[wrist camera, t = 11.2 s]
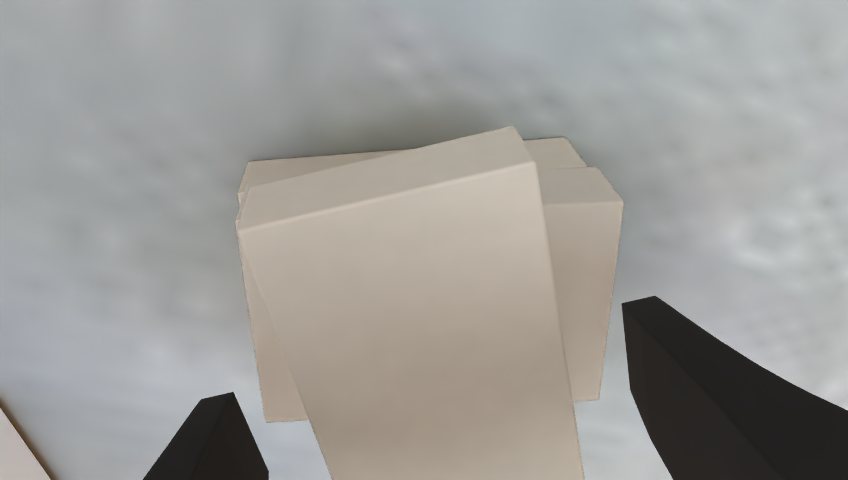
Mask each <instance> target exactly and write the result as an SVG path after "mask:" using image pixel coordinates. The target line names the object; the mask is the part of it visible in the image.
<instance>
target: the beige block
mask: <svg viewBox="0 0 848 480" xmlns="http://www.w3.org/2000/svg"><path fill="white" fill-rule="evenodd" d="M523 141H524V143H525V144H526V146H527V148H528V150H529V151H530V153H531V155H532V156H533V158H534V160H535V162H536V163H537V170H538V176H539V183H540V190H541V196H542V203H543V209H544V216H545V222H546V229H547V235H548V242H549V249H550V255H551V262H552V268H553V275H554V281H555V288H556V294H557V301H558V308H559V314H560V321H561V327H562V334H563V340H564V347H565V354H566V360H567V367H568V373H569V380H570V386H571V393H572V399H573V402H577V401H592V400H598V399H599V395H600V387H601V379H602V371H603V364H604V356H605V348H606V340H607V332H608V324H609V317H610V309H611V301H612V293H613V285H614V278H615V270H616V262H617V254H618V246H619V238H620V231H621V223H622V215H623V207H624V201H623V200H622V198H621V197H620V196H619V195H618V193H617V192H616V191H615V189H614V188H613V187H612V185H611V184H610V183H609V181H608V180H607V179H606V177H605V176H604V175H603V173H602V172H601V171H600V170H599V168H597V167H589V168H587V166H586V164H585V163H584V161H583V160H582V159H581V157H580V156H579V155H578V153H577V152H576V150H575V149H574V148H573V146H572V145H571V144H570V142H569V141H568V140H567V138H565V137H562V138H549V139H536V140H523ZM407 150H412V149H405V150H392V151H379V152H366V153H353V154H340V155H327V156H314V157H301V158H288V159H275V160H262V161H249V162H248V163H247V166H246V169H245V172H244V176H243V179H242V182H241V185H240V188H239V191H238V194H237V195H238V200H239V205H240V208H239V212H238V215H237V218H236V221H235V225H236V231H237V229H238V226H239V222H240V219H241V216H242V212H243V209H244V206H245V202H246V199H247V196H248V192H249V189H250V188H251V187H254V186H259V185H263V184H267V183H271V182H276V181H280V180H284V179H288V178H293V177H297V176H301V175H305V174H310V173H314V172H318V171H322V170H327V169H331V168H335V167H339V166H344V165H348V164H352V163H356V162H361V161H365V160H369V159H373V158H378V157H382V156H386V155H390V154H395V153H399V152H403V151H407ZM237 238H238V235H237ZM238 244H239V251H240V258H241V264H242V271H243V277H244V284H245V291H246V297H247V304H248V311H249V317H250V324H251V330H252V337H253V344H254V350H255V357H256V363H257V370H258V377H259V383H260V390H261V397H262V403H263V410H264V416H265V421H266V422H267V423H271V422H285V421H300V420H309V418H308V416H307V413H306V410H305V408H304V405H303V403H302V400H301V398H300V395H299V392H298V390H297V387H296V385H295V382H294V379H293V377H292V374H291V372H290V369H289V367H288V364H287V361H286V359H285V356H284V354H283V351H282V349H281V346H280V343H279V341H278V338H277V336H276V333H275V330H274V328H273V325H272V323H271V320H270V318H269V315H268V312H267V310H266V307H265V305H264V302H263V300H262V297H261V294H260V292H259V289H258V287H257V284H256V281H255V279H254V276H253V274H252V271H251V269H250V266H249V263H248V261H247V258H246V256H245V253H244V251H243V248H242V245H241V243H240V240H239V238H238Z"/></svg>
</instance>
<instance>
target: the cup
mask: <svg viewBox="0 0 848 480" xmlns="http://www.w3.org/2000/svg"><path fill="white" fill-rule="evenodd" d="M0 480H51V479H50V478H49V476H48V475H47V474H46V472H45V471H44V469H43V468H42V466H41V465H40V464H39V462H38V461H37V459H36V458H35V457H34V455H33V454H32V452H31V451H30V449H29V448H28V447H27V445H26V444H25V442H24V441H23V440H22V438H21V437H20V435H19V434H18V432H17V431H16V430H15V428H14V427H13V425H12V424H11V423H10V421H9V420H8V418H7V417H6V416H5V414H4V413H3V411H2V410H1V408H0Z"/></svg>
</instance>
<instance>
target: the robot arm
mask: <svg viewBox="0 0 848 480" xmlns="http://www.w3.org/2000/svg"><path fill="white" fill-rule="evenodd" d="M622 312H623V322H624V332H625V342H626V352H627V362H628V372H629V381H630V390H631V393H632V395H633V398H634V400H635V403H636V405H637V408H638V410H639V413H640V415H641V418H642V420H643V422H644V425H645V427H646V429H647V432H648V434H649V436H650V439H651V440H652V442H653V444H654V446H655V448H656V450H657V451H658V453H659V455H660V457H661V458H662V460H663V462H664V464H665V466H666V467H667V469H668V471H669V473H670V474H671V476H672V478H673V480H848V411H847V410H845V409H843V408H841V407H839V406H837V405H835V404H832V403H830V402H828V401H826V400H824V399H822V398H820V397H817V396H815V395H813V394H811V393H809V392H807V391H805V390H803V389H801V388H799V387H797V386H795V385H793V384H792V383H790V382H788V381H786V380H784V379H783V378H781V377H779V376H777V375H775V374H774V373H772V372H770V371H768V370H766V369H765V368H763V367H761V366H759V365H758V364H756V363H754V362H753V361H751V360H750V359H748V358H746V357H745V356H743V355H742V354H740V353H739V352H737V351H735V350H734V349H732V348H731V347H729V346H728V345H726V344H724V343H723V342H721V341H720V340H718V339H717V338H715V337H714V336H712V335H711V334H709V333H708V332H706V331H705V330H704V329H702V328H701V327H699V326H698V325H696V324H695V323H693V322H692V321H691V320H689V319H688V318H686V317H685V316H684V315H682V314H681V313H679V312H678V311H676V310H675V309H674V308H672V307H671V306H669V305H668V304H667V303H665V302H664V301H662V300H661V299H659V298H658V297H656V296H652V297H647V298H643V299H639V300H634V301H630V302H625V303H622ZM143 480H269V471H268V469H267V467H266V464H265V462H264V460H263V458H262V455H261V453H260V451H259V449H258V446H257V444H256V442H255V440H254V437H253V435H252V433H251V431H250V428H249V426H248V424H247V422H246V419H245V417H244V415H243V413H242V410H241V408H240V406H239V404H238V401H237V399H236V397H235V395H234V392H231V393H227V394H222V395H218V396H213V397H209V398H205V399H201V400H200V401H199V403H198V404H197V405H196V407H195V408H194V409H193V411H192V412H191V413H190V415H189V416H188V418H187V419H186V420H185V422H184V423H183V425H182V426H181V427H180V429H179V430H178V432H177V433H176V434H175V436H174V437H173V439H172V440H171V442H170V443H169V444H168V446H167V447H166V449H165V450H164V451H163V453H162V454H161V455H160V457H159V458H158V459H157V461H156V462H155V464H154V465H153V466H152V468H151V469H150V470H149V472H148V473H147V474H146V476H145V477H144V479H143Z"/></svg>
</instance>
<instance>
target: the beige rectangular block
mask: <svg viewBox="0 0 848 480" xmlns="http://www.w3.org/2000/svg"><path fill="white" fill-rule="evenodd" d="M237 235H238V238H239V240H240V243H241V245H242V248H243V251H244V253H245V256H246V258H247V261H248V263H249V266H250V269H251V271H252V274H253V276H254V279H255V281H256V284H257V287H258V289H259V292H260V294H261V297H262V300H263V302H264V305H265V307H266V310H267V312H268V315H269V318H270V320H271V323H272V325H273V328H274V330H275V333H276V336H277V338H278V341H279V343H280V346H281V349H282V351H283V354H284V356H285V359H286V361H287V364H288V367H289V369H290V372H291V374H292V377H293V379H294V382H295V385H296V387H297V390H298V392H299V395H300V398H301V400H302V403H303V405H304V408H305V410H306V413H307V416H308V418H309V421H310V423H311V426H312V428H313V431H314V434H315V436H316V439H317V441H318V444H319V447H320V449H321V452H322V454H323V457H324V459H325V462H326V465H327V467H328V470H329V472H330V475H331V477H332V480H585V478H584V472H583V465H582V458H581V452H580V445H579V439H578V432H577V426H576V419H575V413H574V406H573V399H572V393H571V386H570V380H569V373H568V367H567V360H566V354H565V347H564V340H563V334H562V327H561V321H560V314H559V308H558V301H557V294H556V288H555V281H554V275H553V268H552V262H551V255H550V249H549V242H548V235H547V229H546V222H545V216H544V209H543V203H542V196H541V190H540V183H539V176H538V170H537V163H536V162H535V160H534V158H533V156H532V155H531V153H530V151H529V150H528V148H527V146H526V144H525V143H524V141H523V139H522V137H521V136H520V134H519V132H518V131H517V129H516V127H515V126H509V127H505V128H501V129H497V130H492V131H488V132H484V133H480V134H475V135H471V136H467V137H463V138H458V139H454V140H450V141H446V142H441V143H437V144H433V145H429V146H424V147H420V148H416V149H412V150H407V151H403V152H399V153H395V154H390V155H386V156H382V157H378V158H373V159H369V160H365V161H361V162H356V163H352V164H348V165H344V166H339V167H335V168H331V169H327V170H322V171H318V172H314V173H310V174H305V175H301V176H297V177H293V178H288V179H284V180H280V181H276V182H271V183H267V184H263V185H259V186H254V187H251V188H250V189H249V192H248V196H247V199H246V202H245V206H244V209H243V212H242V216H241V219H240V222H239V226H238V229H237Z"/></svg>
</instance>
